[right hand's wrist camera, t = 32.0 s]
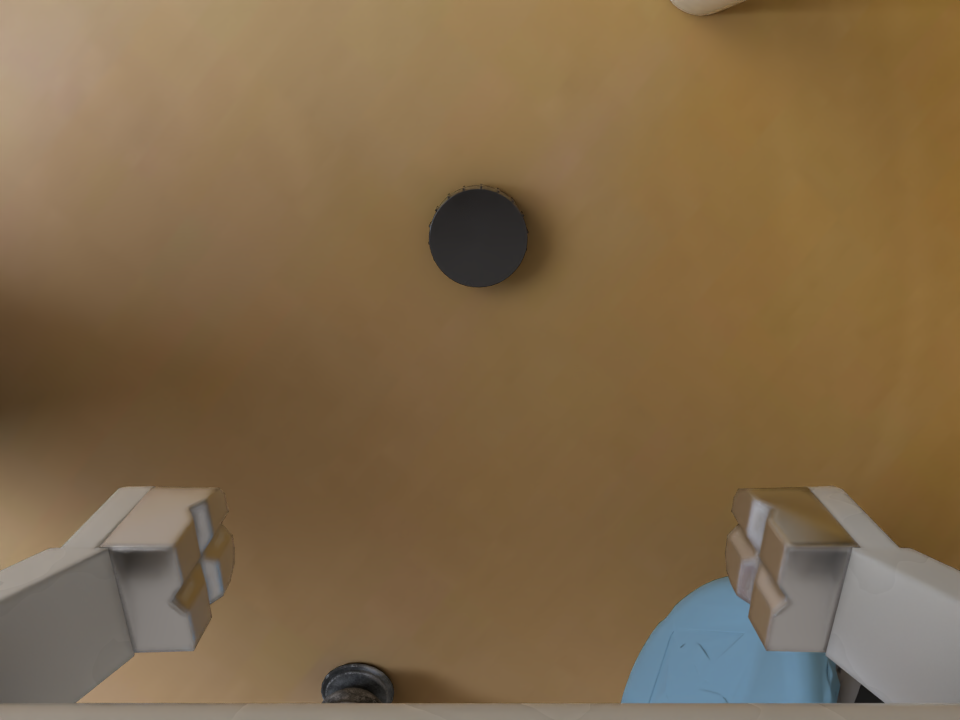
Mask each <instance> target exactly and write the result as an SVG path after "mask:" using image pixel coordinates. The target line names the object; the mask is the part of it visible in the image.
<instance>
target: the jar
mask: <svg viewBox="0 0 960 720" xmlns="http://www.w3.org/2000/svg"><path fill="white" fill-rule="evenodd" d="M670 1H671V2H672V3H673V4H674V5H675V6H676V7H677V8H679V9H680V10H682V11H684V12H686V13H689V14H692V15H700V16H703V15H711V14H715V13H717V12H720V11H722V10H725V9H727V8H729V7H732V6H734V5H737V4H739V3H741V2H744V1H746V0H670Z"/></svg>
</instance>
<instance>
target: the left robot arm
mask: <svg viewBox="0 0 960 720" xmlns="http://www.w3.org/2000/svg"><path fill="white" fill-rule="evenodd" d="M749 608H750V604H748V603H747V602H745V601H744V600H742V599H741V598H739V597H738V596H737V595H736V593H735V591H734V589H733V588H732V586H731V584H730V580H729V577H728V576H727V577H723V578H719V579H716V580H713V581H711V582H709V583H706V584H704V585H702V586H701V587H699V588H697V589H696V590H694V591H693V592H691V593H690V594H688V595H687V596H686V597H685V598H683V599H682V600H681V601H680V602H679V603H677V604H676V605H675V606H674V608H673V610H672V611H671V612H670V614H669V615H668V616H667V617H666V618H665V619H664V620H663V621H661V622H660V623H659V624H658V625H657V627H656V628H655V629H654V631H653V632H652V633H651V635H650V636H649V638H648V640H647V641H646V643H645V645H644V646H643V648H642V650H641V652H640V653H639V655H638V657H637V659H636V662H635V664H634V666H633V668H632V671H631V673H630V676H629V678H628V681H627V684H626V687H625V690H624V693H623V697H622V701H621V703H884V702H883V701H882V700H881V699H879V698H878V697H877V696H876V695H874V694H873V693H872V692H871V691H869V690H868V689H867V688H866V687H864V686H863V685H862V684H861V683H859V682H858V681H857V680H856V679H854V678H853V677H852V676H851V675H849V674H848V673H847V672H846V671H844V670H843V669H842V668H841V667H839V666H838V665H837V664H836V663H834V662H833V661H832V660H831V659H829V658H828V657H827V656H826V653H820V652H784V651H766V649H765V648H764V646H763V644H762V642H761V640H760V638H759V636H758V635H757V633H756V631H755V629H754V627H753V625H752V624H751V622H750V620H749V618H748V614H749Z"/></svg>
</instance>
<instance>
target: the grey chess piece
mask: <svg viewBox="0 0 960 720" xmlns="http://www.w3.org/2000/svg"><path fill="white" fill-rule="evenodd" d="M321 693H322V697H323V702H322V703H392V701H393V695H394V689H393V685H392V683H391V681H390V679H389V678H388V677H387V676H386V675H385V674H384V673H383V672H382V671H380V670H378V669H376V668H375V667H371V666H368V665H364V664H346V665H343V666H339V667H337V668H335V669H334V670H332V671H330V673H329V674H328V675H327V676H326V677H325V679H324V681H323V683H322V689H321Z"/></svg>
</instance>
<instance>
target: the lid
mask: <svg viewBox="0 0 960 720" xmlns="http://www.w3.org/2000/svg"><path fill="white" fill-rule="evenodd" d="M435 211H436V213H435V215H434V217H433V220H432V222H431V223H430V225H429V227H430V231H429V242H428V243H429V244H430V250H431V254H432V256H433V259H434V261H435V262H436V264H437V266H438V267H439V268H440V270H441V271H442V272H443V273H444V274H445V275H446V276H448V277H449V278H450V279H452V280H453V281H455V282H457V283H460V284H462V285H465V286H470V287H487V286H491V285H494V284H497V283H499V282H501V281H503V280H505V279H506V278H508V277H509V276H510V275H511V274H512V273H513V272H514V271H515V270H516V269H517V268H518V266H519V265H520V263H521V261H522V259H523V257H524V255H525V252H526V250H527V233H528V230H527V228H526V224H525V221H524V219H523V216H524V215H523V212H522V211H521V212H520V210H519V208H518V207H517V205H516V204H515V203H514V200H513V198H512V197H511V198H510V197H508V196H507V195H506V194H505V193H503V192H501V191H500V190H499V188H497V189H495V188H492V187H488V186H482V184H480V185H476V186H468V187H465V186H463V188H462V189H459V190H457V191H455V192H453V193H452V194H451V195H450V193H449V194H448V196H447V198H446V199H445V200H444V201H443V202H442V203H441V204H440V206H437V208H436V210H435Z"/></svg>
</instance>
